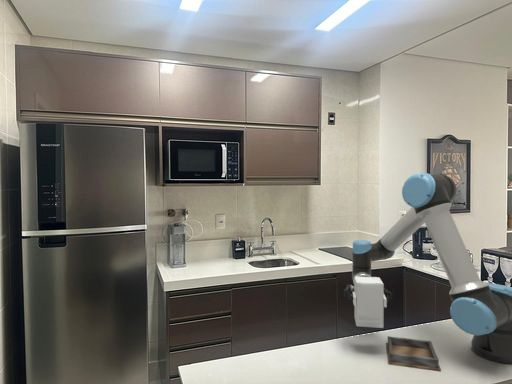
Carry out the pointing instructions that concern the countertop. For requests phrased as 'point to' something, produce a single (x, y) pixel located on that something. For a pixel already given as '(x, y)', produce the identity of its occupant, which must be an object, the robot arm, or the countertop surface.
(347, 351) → the countertop surface
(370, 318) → the supplement box
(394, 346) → the gray rimmed tray
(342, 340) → the countertop surface
